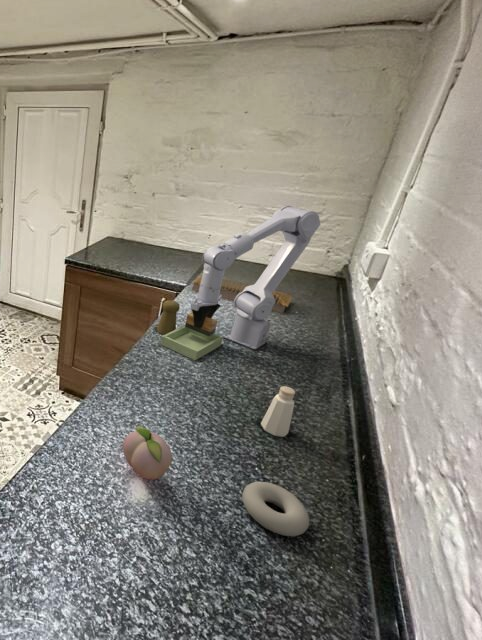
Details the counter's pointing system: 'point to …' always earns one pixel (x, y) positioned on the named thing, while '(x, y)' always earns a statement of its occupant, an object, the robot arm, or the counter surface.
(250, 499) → the donut
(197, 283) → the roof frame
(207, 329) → the orange brown rectangular block
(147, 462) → the decorative fruit
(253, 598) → the counter surface
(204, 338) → the tray
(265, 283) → the robot arm
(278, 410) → the salt shaker
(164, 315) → the pepper mill
